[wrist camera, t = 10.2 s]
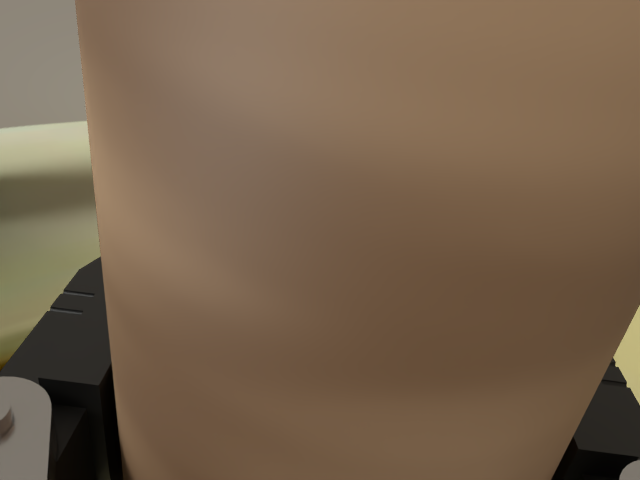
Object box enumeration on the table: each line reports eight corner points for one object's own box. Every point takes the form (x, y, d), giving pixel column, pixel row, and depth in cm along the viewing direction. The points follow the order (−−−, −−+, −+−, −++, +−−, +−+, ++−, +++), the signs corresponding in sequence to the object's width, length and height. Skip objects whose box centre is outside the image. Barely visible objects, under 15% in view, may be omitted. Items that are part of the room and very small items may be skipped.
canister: (100, 701, 12) (-84, -245, 4) (284, 537, 16) (377, -139, 8) (269, 994, 9) (809, -375, 1) (448, 708, 13) (884, -103, 5)
